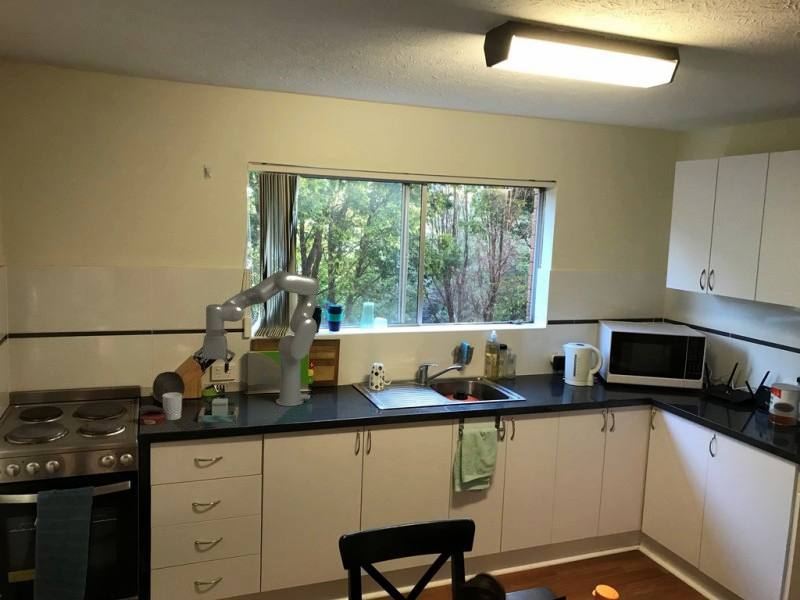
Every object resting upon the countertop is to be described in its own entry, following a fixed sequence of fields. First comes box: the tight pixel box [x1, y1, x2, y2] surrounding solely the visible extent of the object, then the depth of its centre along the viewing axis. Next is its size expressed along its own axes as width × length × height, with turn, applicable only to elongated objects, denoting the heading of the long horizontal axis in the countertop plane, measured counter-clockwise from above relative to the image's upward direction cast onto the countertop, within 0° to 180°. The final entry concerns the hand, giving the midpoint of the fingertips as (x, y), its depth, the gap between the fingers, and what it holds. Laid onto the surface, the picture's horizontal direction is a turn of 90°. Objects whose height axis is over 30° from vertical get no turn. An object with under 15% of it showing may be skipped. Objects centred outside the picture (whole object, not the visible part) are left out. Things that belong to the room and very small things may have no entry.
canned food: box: [138, 404, 166, 427], centre depth 266 cm, size 11×10×10 cm
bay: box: [197, 406, 239, 423], centre depth 275 cm, size 15×13×2 cm
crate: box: [211, 398, 229, 415], centre depth 280 cm, size 6×6×6 cm
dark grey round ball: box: [152, 371, 186, 405], centre depth 290 cm, size 14×14×15 cm
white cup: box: [162, 392, 183, 421], centre depth 272 cm, size 8×8×10 cm
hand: (214, 371), depth 279 cm, fingers open, 9 cm apart
